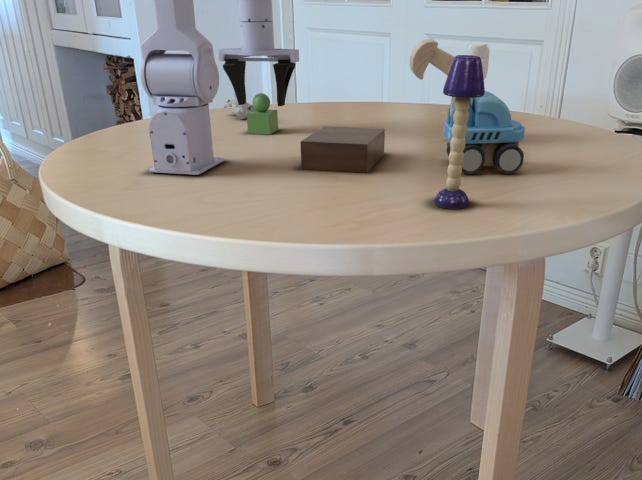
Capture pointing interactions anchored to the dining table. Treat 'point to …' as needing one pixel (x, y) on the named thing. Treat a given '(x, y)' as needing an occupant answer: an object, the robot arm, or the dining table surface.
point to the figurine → (481, 55)
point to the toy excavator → (476, 119)
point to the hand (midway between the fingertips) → (261, 104)
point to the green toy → (262, 116)
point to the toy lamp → (460, 123)
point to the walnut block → (343, 149)
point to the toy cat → (239, 107)
